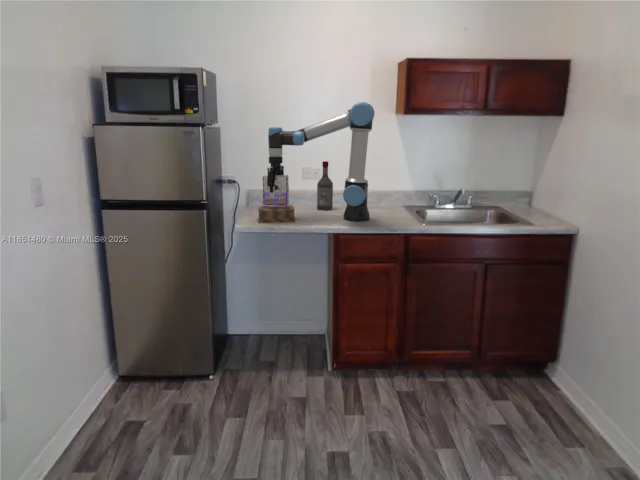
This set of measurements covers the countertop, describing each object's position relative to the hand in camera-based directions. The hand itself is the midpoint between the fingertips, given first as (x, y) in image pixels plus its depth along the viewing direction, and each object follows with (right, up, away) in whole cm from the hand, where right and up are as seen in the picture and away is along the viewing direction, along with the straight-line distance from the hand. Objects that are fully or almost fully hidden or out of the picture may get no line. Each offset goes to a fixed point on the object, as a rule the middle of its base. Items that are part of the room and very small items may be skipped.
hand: (276, 197), depth 271 cm
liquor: (+28, -5, +37) cm, 46 cm away
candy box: (0, -4, +1) cm, 4 cm away
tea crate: (0, -13, +3) cm, 13 cm away
